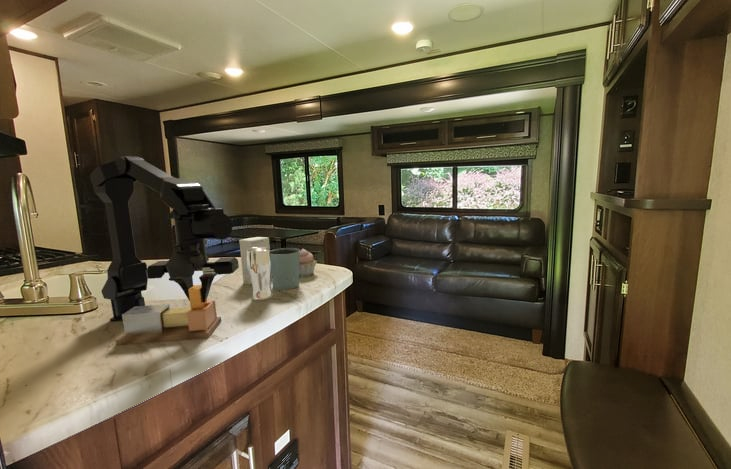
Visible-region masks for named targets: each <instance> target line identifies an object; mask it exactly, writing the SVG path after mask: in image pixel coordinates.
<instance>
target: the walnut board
mask: <svg viewBox="0 0 731 469" xmlns="http://www.w3.org/2000/svg"><path fill="white" fill-rule="evenodd" d="M221 323H222V317H221V316H217V319H216V321H215V322H214V323H213V324H212V326H211V327H210V328H209V329H208V330H207V331H204V330H198V331H189V325H188V326H175V327H168V328H167V329H165V330H164V331H163V332H162V333H151V334H138V335H125V332H124V333H122V334H121V335H119V337H117V338H116V339H115V340H114V341H115V345H116V346H118V345H119V346H120V345H132V344H133V345H134V344H143V343H144V344H145V343H157V342H159V343H160V342H169V341H170V340H172V341H180V340H181V341H184V340H196V339H208V338H210V336H211V335H212V334H214V332H215V330H216V329H217V328H218V327H219V325H220V324H221Z"/></svg>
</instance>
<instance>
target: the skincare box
mask: <svg viewBox="0 0 731 469" xmlns="http://www.w3.org/2000/svg"><path fill="white" fill-rule="evenodd" d="M270 246H271V245H270V238H269V236H268V237H265V236H255V237H248V238H242V239H239V249H240V263H241V269H242V270H241V271H242V283H243V284H245V285H249V286H252V282H251V279H250V275H249V271H248V266H247V250H248V249H251V248H256V247H268V248H270V249H271V247H270ZM272 280H273V279H272V275H271V281H272Z"/></svg>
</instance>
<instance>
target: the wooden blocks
mask: <svg viewBox="0 0 731 469" xmlns="http://www.w3.org/2000/svg"><path fill="white" fill-rule="evenodd" d="M188 291H189V299H190V301H189V305H190V307H179V308H178V307H177V308H170V309H165V310H164V311H163V312H162V313H160V315H161V321H162V327H175V326H188V325H189V324H188V317H187V312H188V311H189V310H203V309H205V308H206V307H207V301H208V300H207V301H206V302H204V303H203V299H202V286H201V284H195V285H194V284H193V287H191V288H190V289H189V290H188Z"/></svg>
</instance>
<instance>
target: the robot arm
mask: <svg viewBox="0 0 731 469" xmlns="http://www.w3.org/2000/svg"><path fill="white" fill-rule="evenodd" d="M89 176H90V177H89V178H90V179H89V180H90V182H91V184H92V186H93V191H94V194H95V195H97V197H98V198H99V199H100V200H101V201H102V202H103V203H104V207H105V214H106V220H107V221H106V222H107V226H108V234H109V238H110V239H109V240H110V246H111V252H112V260H111V262H110V264H109V266H108V268H107V270H106V271H107V272H106V273H107V280H106V281H105V283H104V285H103V287H102V289H101V294H102V297H103V299H105V300H110V304H111V310H112V315H113V316H112V317H111V318H109V322H113V321H123V319H122V314H124V313H126V312H127V311H129V310H130V309H132V308H133V307H136V306H146V303H145V297H144V296H143V295H142V292H144V291H147V290H148V282H149V279H150V280H152V279H162V278H163V276H164V275H165V274H168V277H169V278H168V280H169V281H170V282H175V283H176V284H178V285H179V287H180V288H181V289H182V291H183V292H184V294H185V296H186V297H187V300H188V301H189V302H190V299H189V291H188V290H189V289H190V288H191V287H193V286H194V281H193V280H194V279H193V276H194V274H195V272H201V271H202V275H200V276H199V277H198V278H199V281H200V282H201V283H200V285H201V286H202V299H203V303H204V302H206V301H208V296H209V294H210V289H211V287H212V284H213V281H214V279H215V277H216V276H217V275H219V276H220V275H230V274H234V272H236V270H238V269H239V267H240V266H239V260H238V259H237V257H236V256H230V257H229V256H227V257H220V258H218V259H217V260H215V261H210V262H208V261H209V260H210V257H209V255H207V250H206V249H207V248H206V247H207V246H206V245H207V244H208V240H220V241H221V240H226V239H229V237H230V236H231V233H232V231H233V222H232V221H231V218H230V217H229V216H228V215H227V214H225V213H224V208H221V207H220V208H216V207H215V205H214V203H213V202H212V201H211V200H210V198H209V197H208V194H206V192H205V191H204V189H203V186H202V185H201V184H199V182H195V181H191V180H189V179H183V178H177V177H175V176H173V175H170V174H168V173H167V172H165V171H163V170H162V169H159V168H158V167H156V166H155V165H153V164H151V163H149V162H147V161H146V160H145V159H144V158H142V157H140V156H128V155H127V156H125V155H122V156H120V157H117V158H116V159H115V160H113V161H110V162H107V163H104V164H101V165H98V166H97V167H95V168H94V170H93V171H92V172H91V173H90V175H89ZM137 182H140V183H142V184H143V185H145V186H147V187H148V188H150V189H152V190H153V191H155V192H157V193H158V194H159V197H160V199H161V201H162V202H163V203H164V204H165V205H167V206H168V207H169V208H170V209H172V210H171V212H169V213H168V214H167V215H166V218H167V219H168V220H169V219H171V220H173V223H174V230H175V238H176V244H174V252H173V253H174V254H173V255H172V256H170V258H169V259H168V260H159V261H156V262H153V263H152V264H149V265H147V263H146V261H143V262H142V260H141V259H140V258H139V257H138V256H137V252H136V246H135V239H134V232H133V225H132V218H131V210H130V204H129V202H130V200H131V199H132V196H133V194H134V192H135V184H136V183H137Z"/></svg>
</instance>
